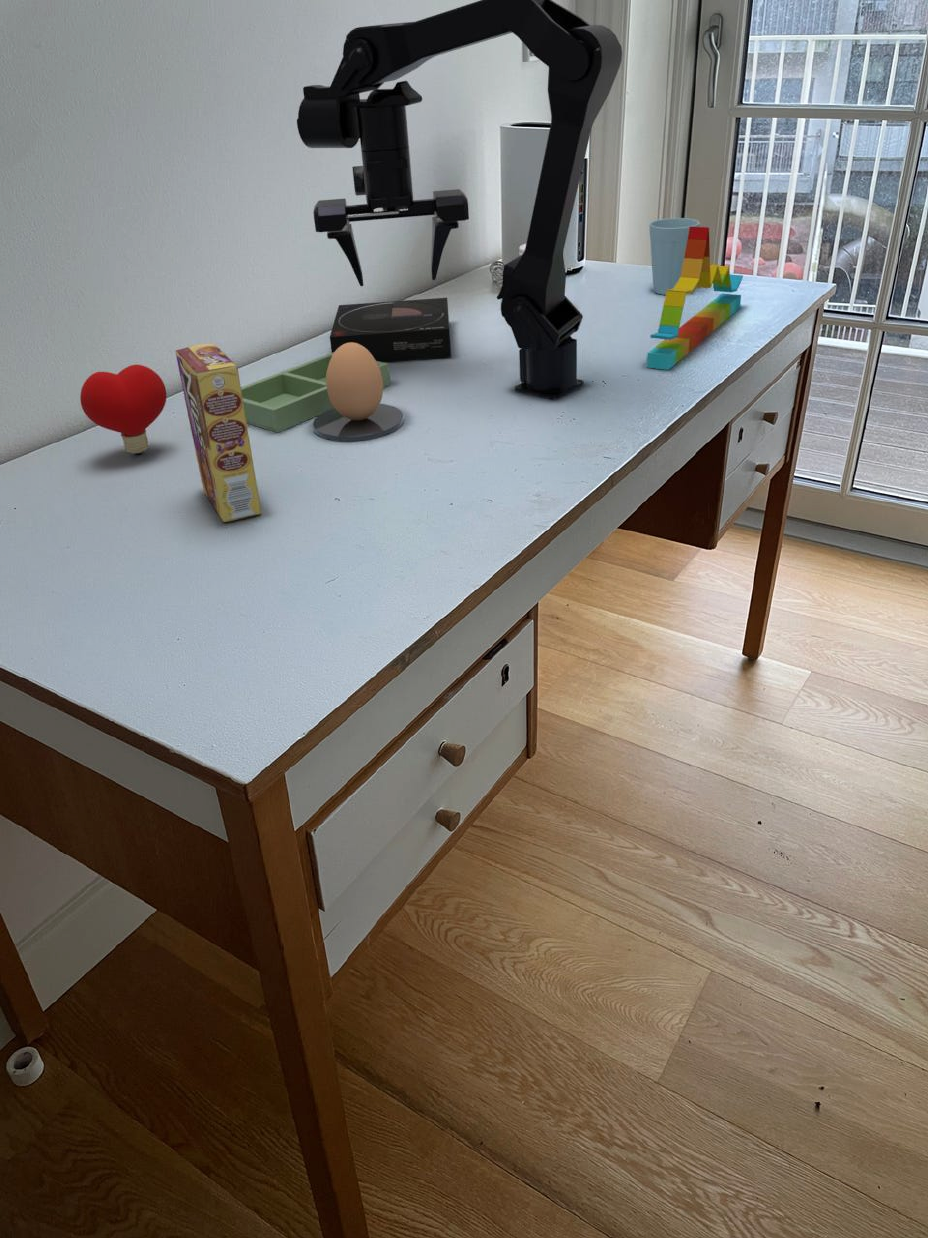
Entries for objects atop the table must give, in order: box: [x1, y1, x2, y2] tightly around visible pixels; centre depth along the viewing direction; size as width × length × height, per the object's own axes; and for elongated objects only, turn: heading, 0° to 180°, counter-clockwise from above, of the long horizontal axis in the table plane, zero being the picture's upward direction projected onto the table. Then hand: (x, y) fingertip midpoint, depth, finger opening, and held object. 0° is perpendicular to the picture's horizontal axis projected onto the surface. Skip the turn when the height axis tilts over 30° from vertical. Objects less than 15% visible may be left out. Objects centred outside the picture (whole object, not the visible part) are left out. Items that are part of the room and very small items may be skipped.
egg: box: [326, 342, 384, 420], centre depth 114 cm, size 7×7×9 cm
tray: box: [241, 352, 391, 434], centre depth 124 cm, size 10×19×3 cm, turn 140°
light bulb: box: [79, 364, 168, 457], centre depth 110 cm, size 9×7×10 cm
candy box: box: [174, 343, 262, 523], centre depth 96 cm, size 9×4×15 cm, turn 26°
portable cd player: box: [329, 297, 452, 363], centre depth 142 cm, size 16×17×4 cm
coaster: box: [312, 403, 405, 442], centre depth 117 cm, size 11×11×1 cm
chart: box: [645, 226, 744, 371], centre depth 134 cm, size 30×3×15 cm, turn 150°
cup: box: [648, 217, 701, 296], centre depth 155 cm, size 8×8×10 cm
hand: (397, 282), depth 125 cm, fingers open, 9 cm apart
